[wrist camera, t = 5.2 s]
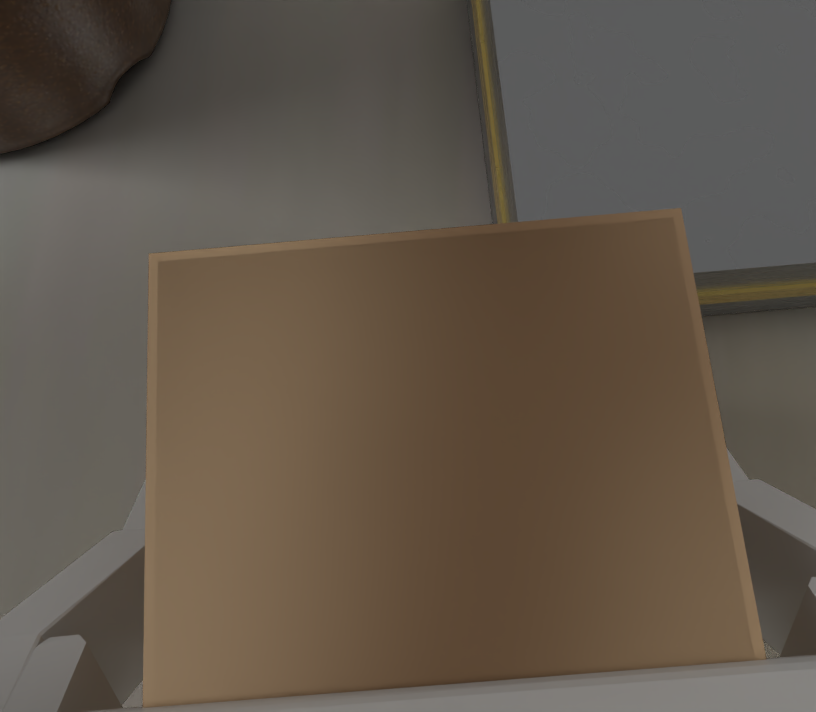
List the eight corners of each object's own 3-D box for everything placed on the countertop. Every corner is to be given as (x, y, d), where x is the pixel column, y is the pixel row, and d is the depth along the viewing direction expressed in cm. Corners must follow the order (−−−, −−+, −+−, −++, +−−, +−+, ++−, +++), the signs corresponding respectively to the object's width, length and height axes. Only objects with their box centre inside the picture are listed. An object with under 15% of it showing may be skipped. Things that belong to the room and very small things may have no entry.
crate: (323, 633, 15) (140, 864, 6) (312, 399, 17) (148, 252, 7) (560, 615, 15) (796, 814, 6) (531, 381, 17) (681, 208, 7)
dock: (502, 336, 18) (522, 291, 14) (460, -21, 21) (468, -139, 17) (928, 300, 18) (1065, 245, 14) (832, -54, 21) (924, -181, 17)
